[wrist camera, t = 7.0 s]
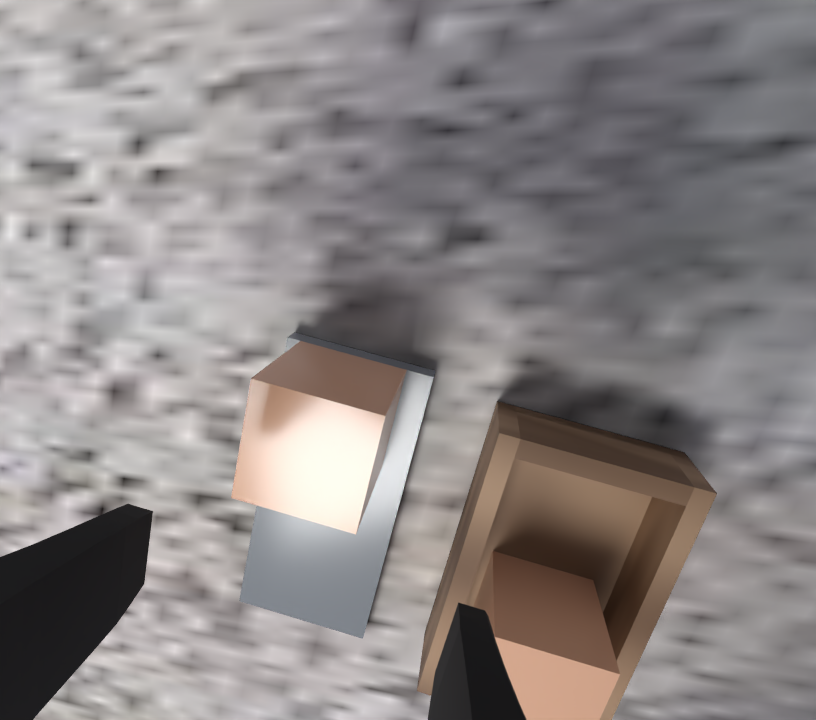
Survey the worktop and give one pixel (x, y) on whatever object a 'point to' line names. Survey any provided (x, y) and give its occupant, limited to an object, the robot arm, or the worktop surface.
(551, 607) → the peach cube
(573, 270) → the worktop surface
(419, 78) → the worktop surface
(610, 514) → the walnut bin
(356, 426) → the tan cube
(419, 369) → the slate board
